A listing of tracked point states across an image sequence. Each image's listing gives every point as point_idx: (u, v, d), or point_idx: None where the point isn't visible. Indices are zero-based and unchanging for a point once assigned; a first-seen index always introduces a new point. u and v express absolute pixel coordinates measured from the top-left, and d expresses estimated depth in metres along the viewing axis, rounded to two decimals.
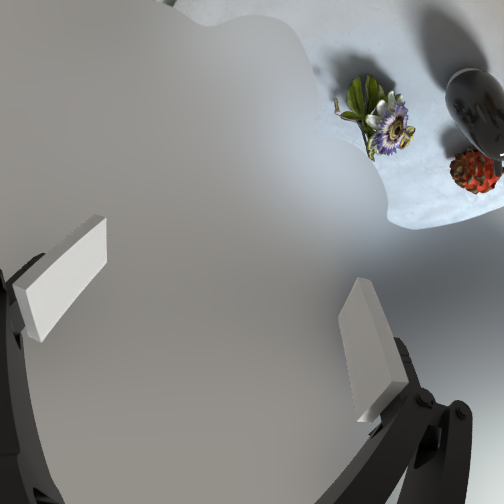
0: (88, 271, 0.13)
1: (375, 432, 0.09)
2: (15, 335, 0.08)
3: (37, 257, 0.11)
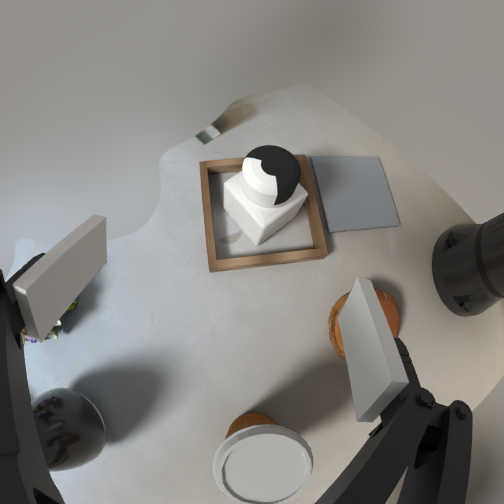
0: (88, 271, 0.13)
1: (375, 432, 0.09)
2: (15, 335, 0.08)
3: (37, 257, 0.11)
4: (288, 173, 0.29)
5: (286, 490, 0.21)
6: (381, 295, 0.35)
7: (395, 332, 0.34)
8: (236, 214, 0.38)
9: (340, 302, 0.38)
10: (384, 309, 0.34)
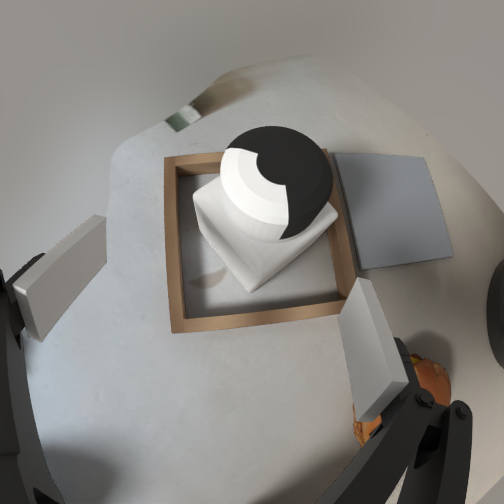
0: (88, 271, 0.13)
1: (375, 432, 0.09)
2: (15, 335, 0.08)
3: (37, 257, 0.11)
4: (311, 180, 0.15)
5: None
6: (432, 370, 0.21)
7: None
8: (216, 244, 0.23)
9: None
10: (435, 391, 0.20)
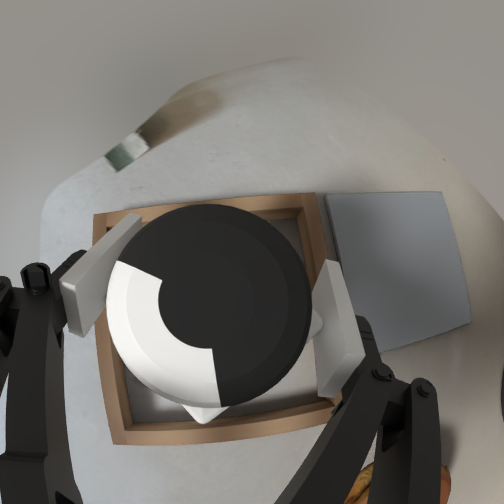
0: None
1: (336, 410, 0.10)
2: (58, 331, 0.09)
3: (76, 254, 0.12)
4: (264, 333, 0.08)
5: None
6: None
7: None
8: None
9: (359, 483, 0.16)
10: None
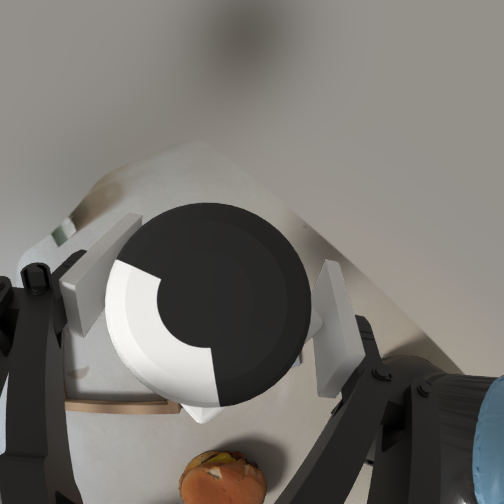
0: None
1: (336, 410, 0.10)
2: (58, 331, 0.10)
3: (76, 254, 0.12)
4: (263, 332, 0.08)
5: None
6: (239, 472, 0.25)
7: None
8: None
9: (195, 462, 0.27)
10: (239, 488, 0.24)
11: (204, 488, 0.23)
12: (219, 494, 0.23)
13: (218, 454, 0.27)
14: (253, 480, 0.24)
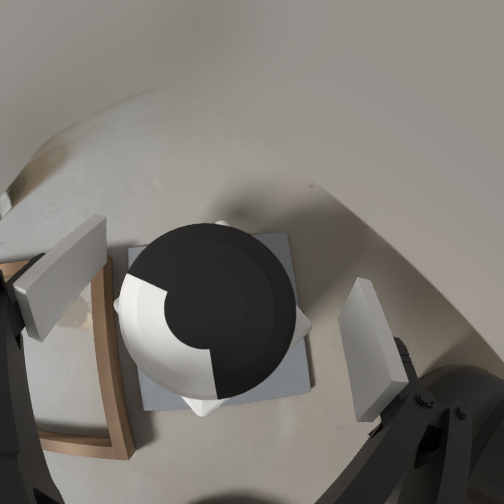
0: (88, 271, 0.13)
1: (375, 432, 0.09)
2: (15, 335, 0.08)
3: (37, 257, 0.11)
4: (253, 336, 0.09)
5: None
6: None
7: None
8: None
9: None
10: None
11: None
12: None
13: None
14: None
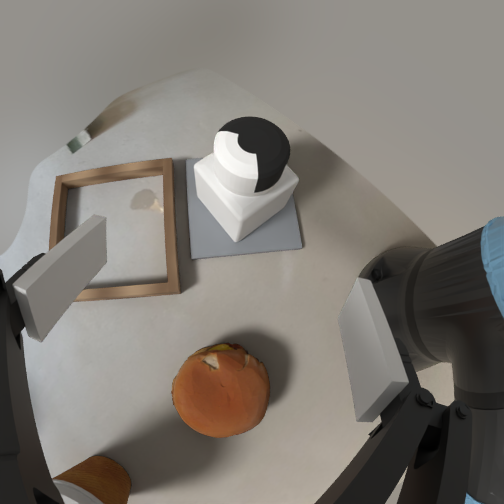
0: (88, 271, 0.13)
1: (375, 432, 0.09)
2: (15, 335, 0.08)
3: (37, 257, 0.11)
4: (273, 151, 0.22)
5: None
6: (239, 361, 0.26)
7: (256, 411, 0.25)
8: (210, 204, 0.30)
9: None
10: (239, 381, 0.25)
11: (199, 383, 0.25)
12: (216, 391, 0.25)
13: (216, 346, 0.29)
14: (254, 372, 0.26)
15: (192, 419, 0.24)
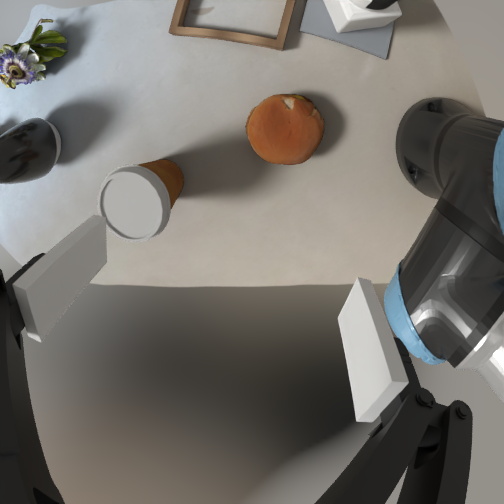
0: (88, 271, 0.13)
1: (375, 432, 0.09)
2: (15, 335, 0.08)
3: (37, 257, 0.11)
4: None
5: (141, 231, 0.34)
6: (308, 110, 0.33)
7: (305, 151, 0.35)
8: (328, 0, 0.26)
9: None
10: (302, 123, 0.33)
11: (274, 114, 0.33)
12: (283, 125, 0.34)
13: (294, 95, 0.34)
14: (316, 122, 0.33)
15: (257, 140, 0.35)
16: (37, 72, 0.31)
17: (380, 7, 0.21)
